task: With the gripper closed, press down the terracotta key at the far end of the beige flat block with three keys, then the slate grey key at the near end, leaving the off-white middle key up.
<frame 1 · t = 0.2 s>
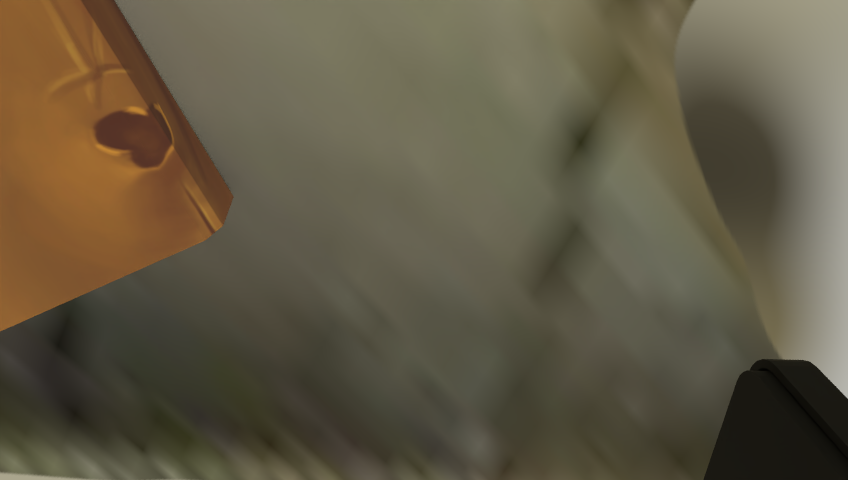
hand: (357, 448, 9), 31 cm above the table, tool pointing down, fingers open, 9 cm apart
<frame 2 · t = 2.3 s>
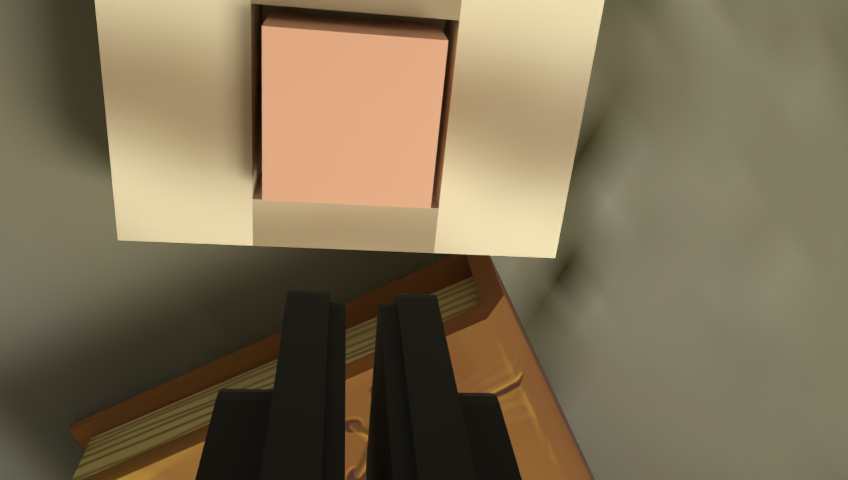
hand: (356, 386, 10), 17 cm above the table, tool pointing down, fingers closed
key terracotta: (351, 111, 22), point 4 cm above the table, slide at 0.0 cm
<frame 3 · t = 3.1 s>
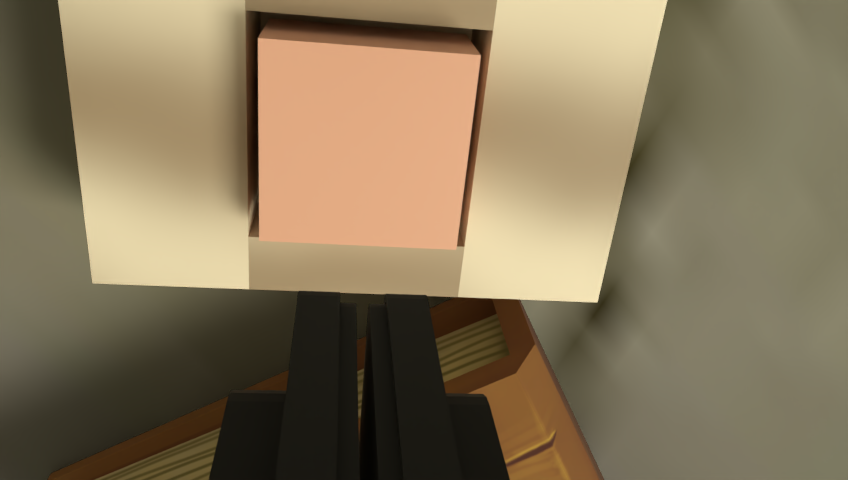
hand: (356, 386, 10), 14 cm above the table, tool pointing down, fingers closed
key terracotta: (364, 135, 19), point 4 cm above the table, slide at 0.0 cm
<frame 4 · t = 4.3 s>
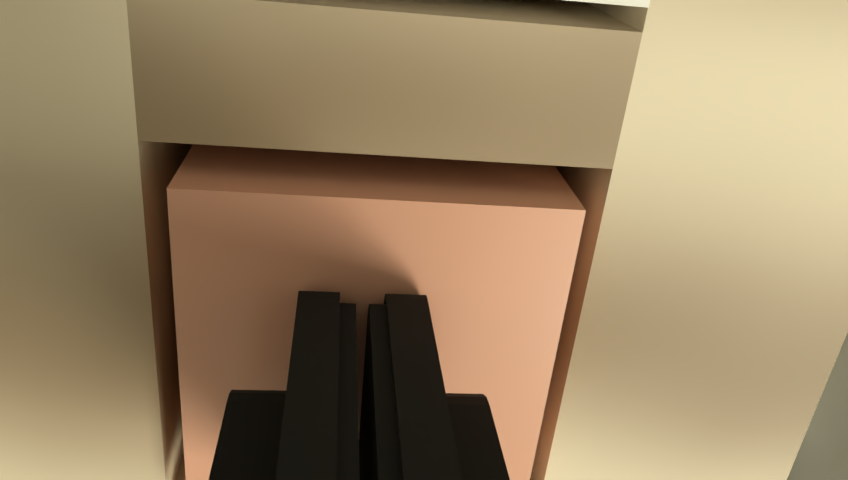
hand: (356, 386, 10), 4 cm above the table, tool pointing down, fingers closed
key terracotta: (368, 320, 11), point 3 cm above the table, slide at 0.6 cm, touching gripper
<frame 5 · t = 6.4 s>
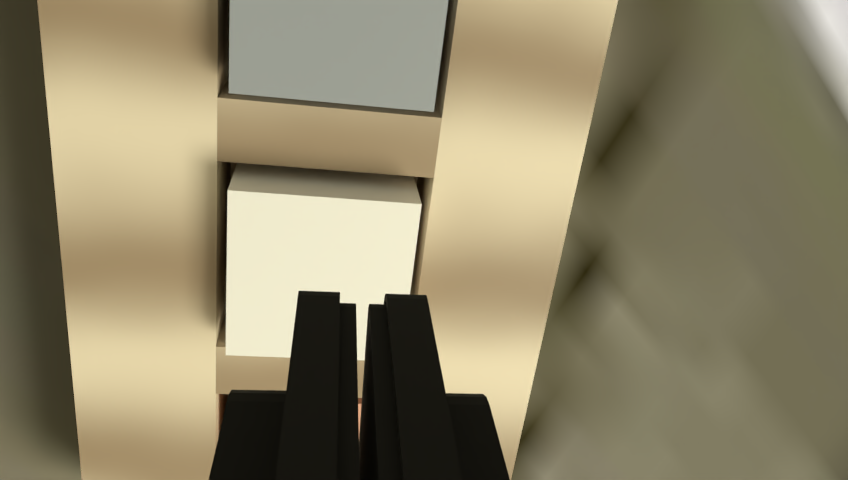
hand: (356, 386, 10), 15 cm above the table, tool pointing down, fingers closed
key terracotta: (307, 438, 25), point 3 cm above the table, slide at 1.2 cm
beige flat block: (322, 211, 24), on the table
key offwhite: (321, 261, 21), point 4 cm above the table, slide at 0.0 cm
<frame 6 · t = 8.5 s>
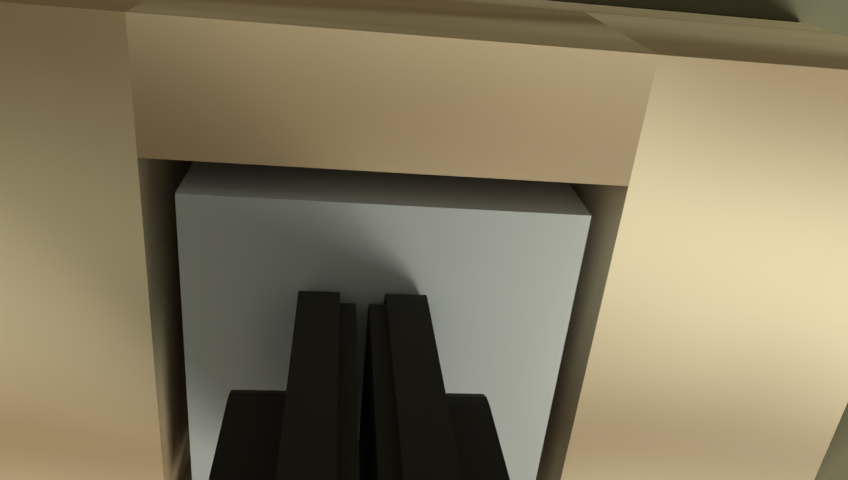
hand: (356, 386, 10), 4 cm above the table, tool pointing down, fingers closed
key slate: (374, 324, 11), point 3 cm above the table, slide at 1.0 cm, touching gripper
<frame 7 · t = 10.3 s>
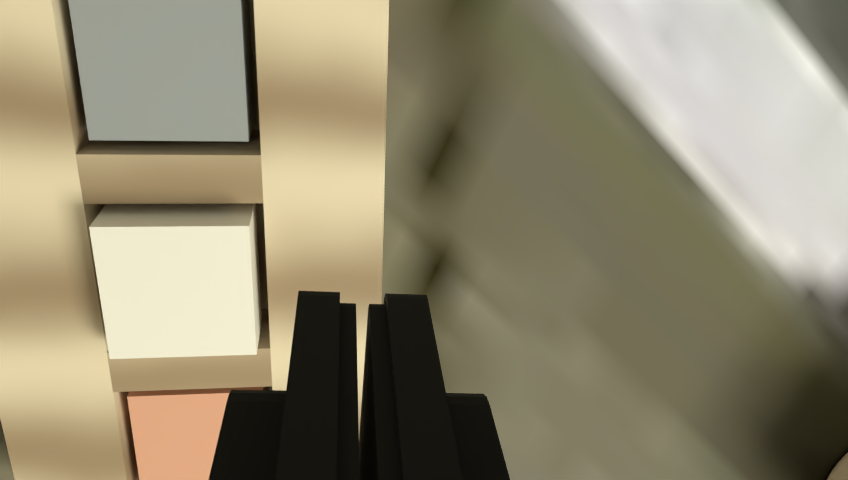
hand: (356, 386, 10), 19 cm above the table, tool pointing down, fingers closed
key terracotta: (205, 425, 30), point 3 cm above the table, slide at 1.2 cm
key slate: (169, 55, 24), point 3 cm above the table, slide at 1.2 cm
beige flat block: (200, 234, 29), on the table
key offwhite: (183, 277, 26), point 4 cm above the table, slide at 0.0 cm
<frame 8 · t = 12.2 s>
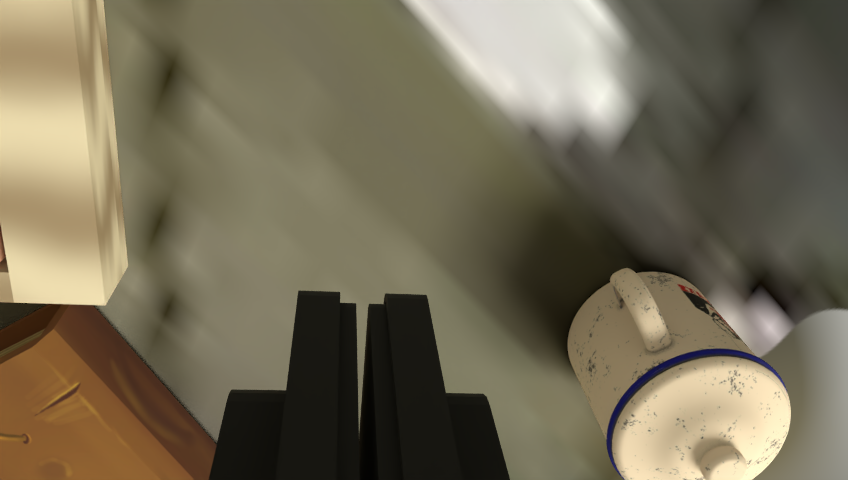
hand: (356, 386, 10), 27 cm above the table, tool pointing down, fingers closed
teacup with lid: (627, 312, 43), on the table
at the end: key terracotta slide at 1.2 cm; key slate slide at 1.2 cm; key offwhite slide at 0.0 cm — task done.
